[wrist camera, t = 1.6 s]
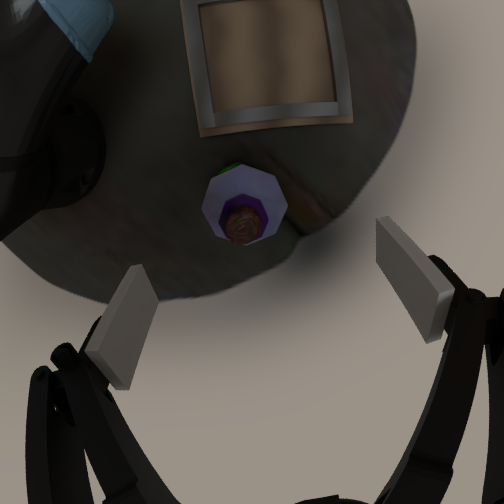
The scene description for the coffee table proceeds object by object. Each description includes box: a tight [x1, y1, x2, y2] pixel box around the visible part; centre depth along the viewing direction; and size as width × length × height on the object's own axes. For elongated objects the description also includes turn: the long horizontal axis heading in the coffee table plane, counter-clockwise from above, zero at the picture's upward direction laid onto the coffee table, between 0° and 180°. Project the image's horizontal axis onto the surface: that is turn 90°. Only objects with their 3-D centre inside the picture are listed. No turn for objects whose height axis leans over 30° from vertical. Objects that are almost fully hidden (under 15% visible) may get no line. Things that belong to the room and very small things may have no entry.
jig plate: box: [180, 0, 353, 138], centre depth 25 cm, size 17×18×3 cm
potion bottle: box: [201, 162, 288, 246], centre depth 29 cm, size 9×9×12 cm
